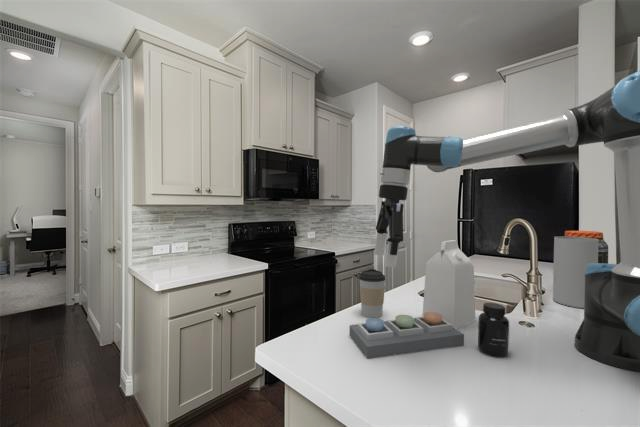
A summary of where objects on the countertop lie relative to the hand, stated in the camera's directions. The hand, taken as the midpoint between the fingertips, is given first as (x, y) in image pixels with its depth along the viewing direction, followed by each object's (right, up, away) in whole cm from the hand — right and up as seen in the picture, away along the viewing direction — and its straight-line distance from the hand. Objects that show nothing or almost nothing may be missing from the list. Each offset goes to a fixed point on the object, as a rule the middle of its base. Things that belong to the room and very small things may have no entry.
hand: (384, 260), depth 81 cm
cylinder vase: (+79, -21, +29) cm, 87 cm away
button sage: (+6, -18, -1) cm, 19 cm away
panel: (+6, -22, 0) cm, 23 cm away
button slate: (-3, -18, -3) cm, 18 cm away
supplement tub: (+97, -21, +46) cm, 109 cm away
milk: (+25, -22, +14) cm, 36 cm away
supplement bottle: (+27, -23, -7) cm, 36 cm away
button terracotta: (+14, -18, +2) cm, 23 cm away
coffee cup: (0, -22, +19) cm, 29 cm away
